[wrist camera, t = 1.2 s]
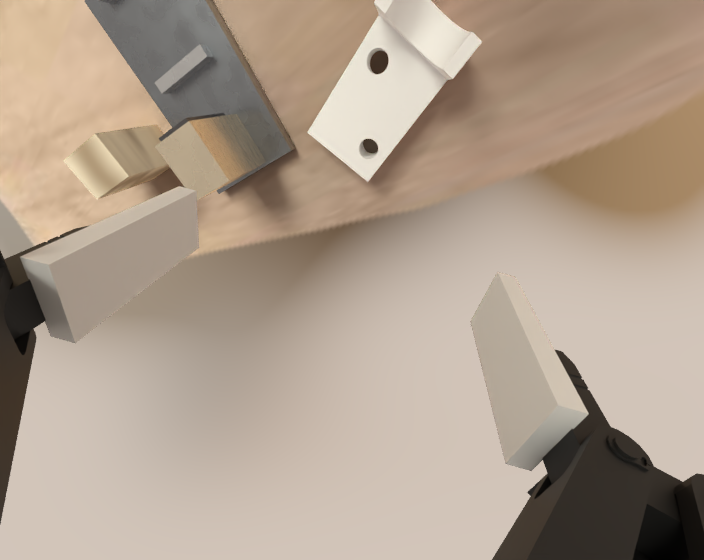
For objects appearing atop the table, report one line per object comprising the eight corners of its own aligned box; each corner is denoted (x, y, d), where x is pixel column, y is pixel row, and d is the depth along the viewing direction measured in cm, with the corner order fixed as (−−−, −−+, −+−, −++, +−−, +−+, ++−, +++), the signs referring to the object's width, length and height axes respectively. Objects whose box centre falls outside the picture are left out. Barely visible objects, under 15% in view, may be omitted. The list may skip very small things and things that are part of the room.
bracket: (402, -11, 26) (400, -42, 20) (465, 52, 28) (482, 41, 21) (316, 128, 33) (293, 138, 26) (371, 173, 34) (362, 193, 28)
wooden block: (150, 181, 38) (94, 201, 32) (125, 148, 37) (60, 162, 30) (181, 159, 36) (129, 176, 30) (156, 124, 35) (94, 133, 28)
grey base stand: (98, 4, 30) (-17, -26, 22) (170, -75, 26) (64, -145, 18) (225, 190, 37) (174, 218, 29) (295, 148, 34) (259, 167, 26)
